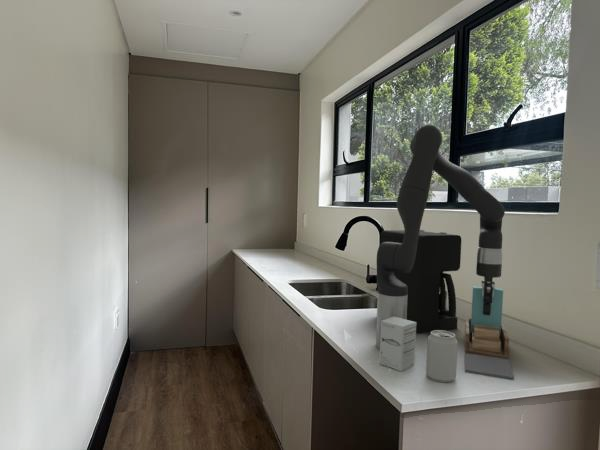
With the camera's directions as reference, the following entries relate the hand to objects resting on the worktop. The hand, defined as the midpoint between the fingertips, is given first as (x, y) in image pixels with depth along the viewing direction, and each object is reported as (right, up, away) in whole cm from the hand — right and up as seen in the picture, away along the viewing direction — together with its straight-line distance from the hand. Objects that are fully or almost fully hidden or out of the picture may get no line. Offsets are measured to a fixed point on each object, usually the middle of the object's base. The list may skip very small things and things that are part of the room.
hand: (486, 313), depth 139 cm
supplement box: (-34, -11, -20) cm, 41 cm away
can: (-24, -11, -28) cm, 39 cm away
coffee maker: (-16, -9, +22) cm, 29 cm away
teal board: (0, -7, 0) cm, 7 cm away
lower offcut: (-3, -9, -6) cm, 11 cm away
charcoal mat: (-8, -11, -19) cm, 24 cm away
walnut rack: (-2, -10, -3) cm, 11 cm away
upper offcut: (-3, -6, -6) cm, 9 cm away
